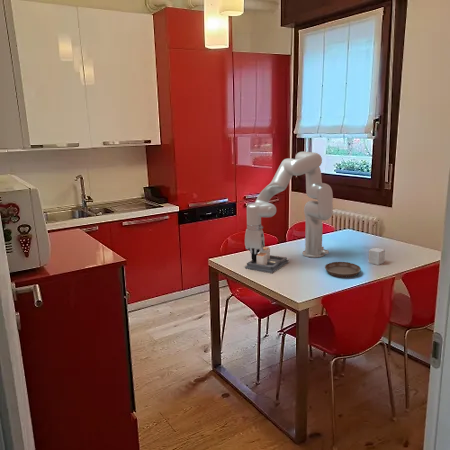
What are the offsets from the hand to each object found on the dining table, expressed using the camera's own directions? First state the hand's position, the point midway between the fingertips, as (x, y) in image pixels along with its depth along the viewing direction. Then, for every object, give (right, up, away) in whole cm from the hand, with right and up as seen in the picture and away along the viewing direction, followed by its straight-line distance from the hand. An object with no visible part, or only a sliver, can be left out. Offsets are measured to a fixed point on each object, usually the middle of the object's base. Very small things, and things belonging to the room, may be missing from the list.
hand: (254, 260), depth 233 cm
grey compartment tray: (+7, -3, +2) cm, 8 cm away
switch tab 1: (+4, -3, -2) cm, 5 cm away
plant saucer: (+44, -6, -12) cm, 46 cm away
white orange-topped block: (+6, 0, +8) cm, 10 cm away
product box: (+66, -2, +1) cm, 66 cm away
